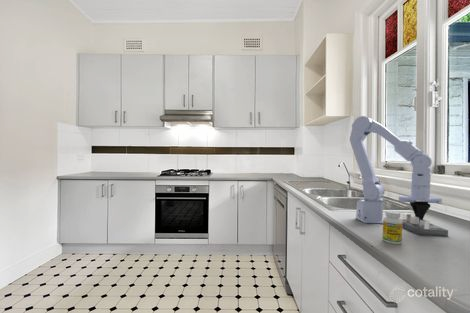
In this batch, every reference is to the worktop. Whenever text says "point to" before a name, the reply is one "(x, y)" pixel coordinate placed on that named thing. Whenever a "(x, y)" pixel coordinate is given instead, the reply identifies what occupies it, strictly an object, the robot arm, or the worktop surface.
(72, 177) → the worktop surface
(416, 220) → the white slider knob
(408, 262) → the worktop surface
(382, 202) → the robot arm
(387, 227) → the supplement bottle
